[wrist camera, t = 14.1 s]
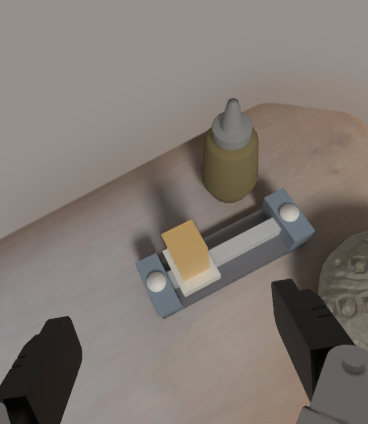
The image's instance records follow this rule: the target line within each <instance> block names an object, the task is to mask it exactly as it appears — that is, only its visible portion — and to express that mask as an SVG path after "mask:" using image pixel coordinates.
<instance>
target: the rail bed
mask: <svg viewBox="0 0 368 424" xmlns="http://www.w3.org/2000/svg"><path fill="white" fill-rule="evenodd" d="M314 232H315V229H314V228H313V227H312V225H311V224H310V223H309V221H308V220H307V219H306V217H305V216H304V215H303V213H302V212H301V211H300V209H299V208H298V207H297V206H296V204H295V203H294V202H293V200H292V199H291V198H290V196H289V195H288V194H287V192H286V191H285V190H284V188H282V189H280V190H278V191H276V192H274V193H272V194H271V195H269V196H267V197H265V198H264V200H263V203H262V207H261V209H260V210H258V211H256V212H254V213H252V214H250V215H248V216H246V217H244V218H242V219H240V220H238V221H236V222H234V223H232V224H230V225H229V226H227V227H225V228H223V229H221V230H219V231H217V232H215V233H213V234H211V235H209V236H207V237H205V238H203V240H204V242H205V244H206V246H207V247H208V253H209V255H210V256H211V258H212V260H213V262H214V264H215V265H216V267H217V269H218V271H219V272H220V274H221V279H219V280H217V281H215V282H213V283H211V284H209V285H207V286H205V287H204V288H202V289H200V290H198V291H196V292H194V293H192V294H190V295H188V296H187V297H185V296H184V294H183V292H182V290H181V288H180V286H179V284H178V282H177V280H176V278H175V276H174V274H173V272H172V270H171V268H170V266H169V264H168V262H167V260H166V258H164V259H162V260H160V258H159V256H158V255H157V253H154V254H152V255H151V256H149V257H147V258H145V259H143V260H141V261H139V262H137V263H135V265H136V267H137V269H138V271H139V274H140V276H141V278H142V280H143V283H144V285H145V287H146V290H147V292H148V294H149V296H150V299H151V301H152V303H153V305H154V308H155V310H156V312H157V314H158V315H159V316H160V317H162V318H163V319H165V318H167V317H169V316H171V315H173V314H175V313H176V312H178V311H180V310H182V309H184V308H186V307H188V306H190V305H191V304H193V303H195V302H197V301H199V300H201V299H203V298H205V297H206V296H208V295H210V294H212V293H214V292H216V291H218V290H220V289H221V288H223V287H225V286H227V285H229V284H231V283H233V282H235V281H236V280H238V279H240V278H242V277H244V276H246V275H248V274H250V273H251V272H253V271H255V270H257V269H259V268H261V267H263V266H265V265H266V264H268V263H270V262H272V261H274V260H276V259H278V258H280V257H281V256H283V255H285V254H287V253H289V252H291V251H293V250H295V249H296V248H298V247H300V246H302V245H304V244H306V242H307V241H308V240H309V239H310V237H311V236H312V235H313V233H314Z"/></svg>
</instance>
